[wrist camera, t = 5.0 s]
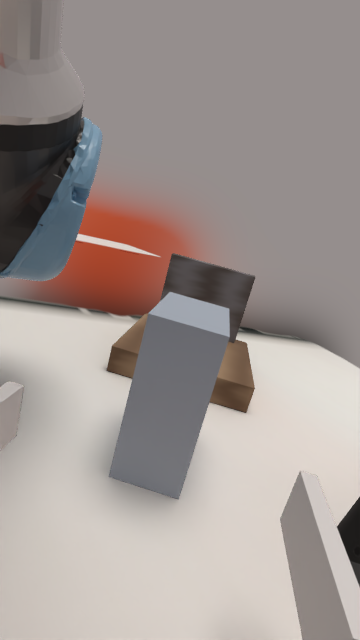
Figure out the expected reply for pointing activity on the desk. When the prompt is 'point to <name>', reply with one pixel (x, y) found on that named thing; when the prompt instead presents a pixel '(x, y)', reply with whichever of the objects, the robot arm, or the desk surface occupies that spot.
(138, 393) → the slate gray rectangular prism
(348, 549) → the magazine
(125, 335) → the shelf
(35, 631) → the desk surface
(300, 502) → the robot arm
